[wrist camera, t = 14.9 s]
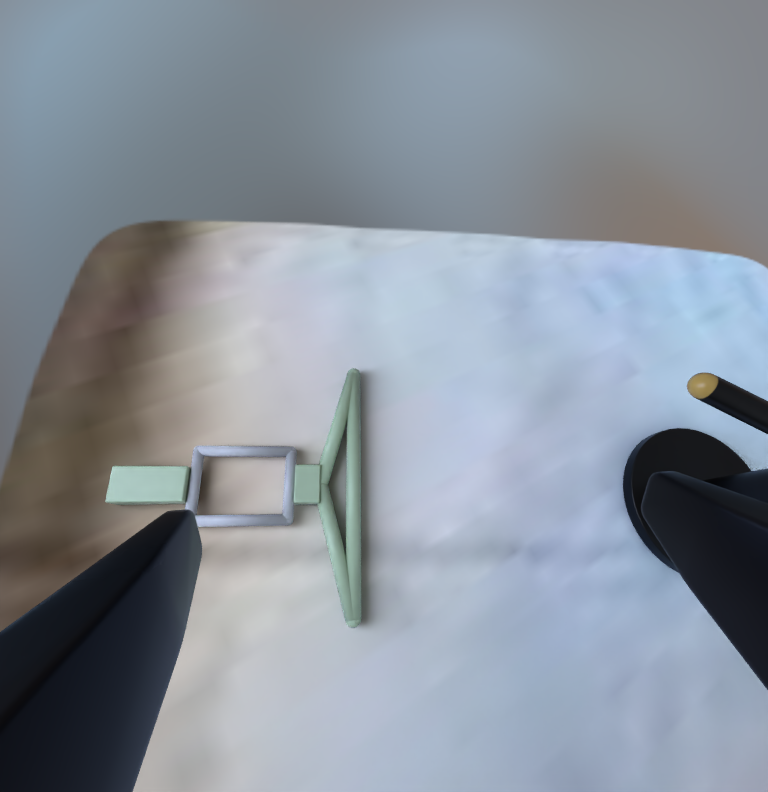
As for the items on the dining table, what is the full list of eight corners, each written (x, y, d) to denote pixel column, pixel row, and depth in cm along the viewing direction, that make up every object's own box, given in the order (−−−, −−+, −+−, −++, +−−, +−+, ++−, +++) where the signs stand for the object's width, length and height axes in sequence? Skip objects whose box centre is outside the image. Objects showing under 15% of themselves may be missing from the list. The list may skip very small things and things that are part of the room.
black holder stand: (750, 610, 21) (1032, 653, 12) (544, 503, 21) (684, 474, 13) (765, 471, 24) (1002, 430, 15) (584, 379, 24) (719, 293, 16)
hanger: (361, 365, 22) (134, 356, 20) (362, 629, 17) (74, 644, 16) (359, 373, 22) (143, 365, 21) (360, 625, 18) (88, 639, 17)
